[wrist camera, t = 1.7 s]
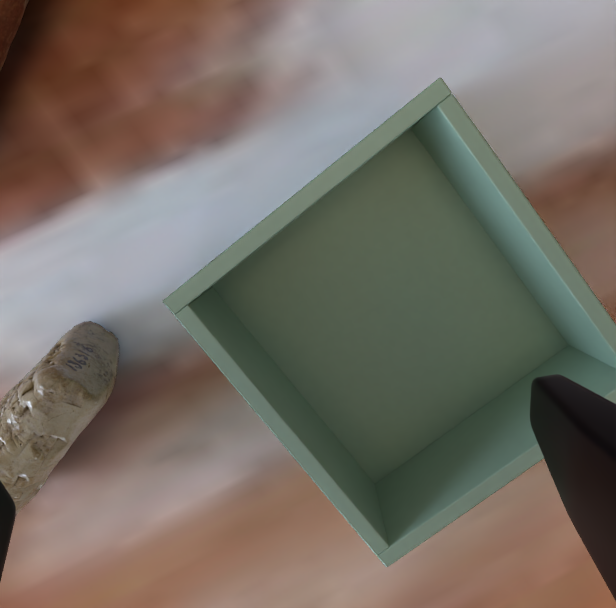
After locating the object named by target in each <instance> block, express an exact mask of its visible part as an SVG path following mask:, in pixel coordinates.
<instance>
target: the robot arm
mask: <svg viewBox="0 0 616 608" xmlns="http://www.w3.org/2000/svg"><path fill="white" fill-rule="evenodd" d="M530 423H531V427H532V430H533V432H534V435H535V437H536V440H537V442H538V444H539V447H540V449H541V452H542V454H543V456H544V459H545V461H546V464H547V466H548V468H549V471H550V473H551V475H552V478H553V480H554V483H555V485H556V487H557V490H558V492H559V495H560V497H561V499H562V502H563V504H564V506H565V508H566V511H567V513H568V515H569V517H570V519H571V521H572V523H573V525H574V527H575V529H576V530H577V532H578V534H579V536H580V538H581V539H582V541H583V543H584V545H585V547H586V548H587V550H588V552H589V554H590V556H591V557H592V559H593V561H594V563H595V565H596V566H597V568H598V570H599V572H600V574H601V575H602V577H603V579H604V581H605V582H606V584H607V586H608V588H609V590H610V591H611V593H612V595H613V597H614V599H615V600H616V404H615V403H613V402H611V401H609V400H608V399H606V398H604V397H602V396H600V395H598V394H596V393H595V392H593V391H591V390H589V389H587V388H585V387H583V386H581V385H580V384H578V383H576V382H574V381H572V380H570V379H568V378H567V377H565V376H562V375H560V374H553V375H547V376H541V377H536V378H535V379H534V380H533V381H532V384H531V399H530ZM15 516H16V507H15V503H14V501H13V499H12V497H11V496H10V494H9V493H8V491H7V490H6V488H5V487H4V485H3V484H2V482H1V480H0V581H1V577H2V572H3V568H4V564H5V560H6V555H7V551H8V547H9V543H10V538H11V534H12V530H13V526H14V521H15Z"/></svg>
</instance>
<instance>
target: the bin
mask: <svg viewBox="0 0 616 608" xmlns="http://www.w3.org/2000/svg"><path fill="white" fill-rule="evenodd" d="M450 94H451V91H450V89H449V88H448V86H447V85H446V84H445V82H444V81H443V79H442V78H439V79H437V80H436V81H435V82H434V83H432V84H431V85H430V86H429V87H427V88H426V89H425V90H424V91H422V92H421V93H420V94H419V95H417V96H416V97H415V98H414V99H412V100H411V101H410V102H409V103H408V104H406V105H405V106H404V107H403V108H401V109H400V110H399V111H398V112H396V113H395V114H394V115H393V116H391V117H390V118H389V119H388V120H386V121H385V122H384V123H383V124H381V125H380V126H379V127H378V128H377V129H375V130H374V131H373V132H372V133H370V134H369V135H368V136H367V137H365V138H364V139H363V140H362V141H360V142H359V143H358V144H357V145H355V146H354V147H353V148H352V149H350V150H349V151H348V152H347V153H345V154H344V155H343V156H342V157H341V158H339V159H338V160H337V161H336V162H334V163H333V164H332V165H331V166H329V167H328V168H327V169H326V170H324V171H323V172H322V173H321V174H319V175H318V176H317V177H316V178H314V179H313V180H312V181H311V182H310V183H308V184H307V185H306V186H305V187H303V188H302V189H301V190H300V191H298V192H297V193H296V194H295V195H293V196H292V197H291V198H290V199H288V200H287V201H286V202H285V203H283V204H282V205H281V206H280V207H278V208H277V209H276V210H275V211H274V212H272V213H271V214H270V215H269V216H267V217H266V218H265V219H264V220H262V221H261V222H260V223H259V224H257V225H256V226H255V227H254V228H252V229H251V230H250V231H249V232H247V233H246V234H245V235H244V236H243V237H241V238H240V239H239V240H238V241H236V242H235V243H234V244H233V245H231V246H230V247H229V248H228V249H226V250H225V251H224V252H223V253H221V254H220V255H219V256H218V257H216V258H215V259H214V260H213V261H211V262H210V263H209V264H208V265H207V266H205V267H204V268H203V269H202V270H200V271H199V272H198V273H197V274H195V275H194V276H193V277H192V278H190V279H189V280H188V281H187V282H185V283H184V284H183V285H182V286H180V287H179V288H178V289H177V290H176V291H174V292H173V293H172V294H171V295H169V296H168V297H167V298H166V299H164V300H163V303H164V304H165V305H166V306H167V308H168V309H169V310H170V311H171V312H172V314H173V315H175V317H176V318H177V320H178V321H179V322H180V323H181V324H182V325H183V327H184V328H185V329H186V330H187V331H188V333H189V334H190V335H191V336H192V337H193V339H194V340H195V341H196V342H197V343H198V344H199V346H200V347H201V348H202V349H203V350H204V352H205V353H206V354H207V355H208V356H209V358H210V359H211V360H212V361H213V362H214V363H215V365H216V366H217V367H218V368H219V369H220V371H221V372H222V373H223V374H224V375H225V377H226V378H227V379H228V380H229V381H230V382H231V384H232V385H233V386H234V387H235V388H236V390H237V391H238V392H239V393H240V394H241V396H242V397H243V398H244V399H245V400H246V401H247V403H248V404H249V405H250V406H251V407H252V409H253V410H254V411H255V412H256V413H257V415H258V416H259V417H260V418H261V419H262V420H263V422H264V423H265V424H266V425H267V426H268V428H269V429H270V430H271V431H272V432H273V434H274V435H275V436H276V437H277V438H278V439H279V441H280V442H281V443H282V444H283V445H284V447H285V448H286V449H287V450H288V451H289V453H290V454H291V455H292V456H293V457H294V458H295V460H296V461H297V462H298V463H299V464H300V466H301V467H302V468H303V469H304V470H305V471H306V473H307V474H308V475H309V476H310V477H311V479H312V480H313V481H314V482H315V483H316V485H317V486H318V487H319V488H320V489H321V490H322V492H323V493H324V494H325V495H326V496H327V498H328V499H329V500H330V501H331V502H332V504H333V505H334V506H335V507H336V508H337V509H338V511H339V512H340V513H341V514H342V515H343V517H344V518H345V519H346V520H347V521H348V523H349V524H350V525H351V526H352V527H353V528H354V530H355V531H356V532H357V533H358V534H359V536H360V537H361V538H362V539H363V540H364V542H365V543H366V544H367V545H368V546H369V547H370V549H371V550H372V551H373V552H374V553H375V555H377V557H378V558H379V559H380V560H381V562H382V563H383V564H384V565H385V566H386V567H388V566H390V565H391V564H392V563H394V562H395V561H397V560H398V559H400V558H401V557H403V556H404V555H405V554H407V553H408V552H410V551H411V550H413V549H414V548H415V547H417V546H418V545H420V544H421V543H423V542H424V541H426V540H427V539H428V538H430V537H431V536H433V535H434V534H436V533H437V532H438V531H440V530H441V529H443V528H444V527H446V526H447V525H449V524H450V523H451V522H453V521H454V520H456V519H457V518H459V517H460V516H461V515H463V514H464V513H466V512H467V511H469V510H470V509H472V508H473V507H474V506H476V505H477V504H479V503H480V502H482V501H483V500H484V499H486V498H487V497H489V496H490V495H492V494H493V493H495V492H496V491H497V490H499V489H500V488H502V487H503V486H505V485H506V484H507V483H509V482H510V481H512V480H513V479H515V478H516V477H518V476H519V475H520V474H522V473H523V472H525V471H526V470H528V469H529V468H530V467H532V466H533V465H535V464H536V463H538V462H539V461H541V460H542V459H543V458H544V456H543V454H542V452H541V449H540V447H539V444H538V442H537V440H536V437H535V435H534V432H533V430H532V427H531V423H530V399H531V384H532V381H533V380H534V379H535V378H536V377H541V376H547V375H553V374H560V375H562V376H565V377H567V378H568V379H570V380H572V381H574V382H576V383H578V384H580V385H581V386H583V387H585V388H587V389H589V390H591V391H593V392H595V393H596V394H598V395H600V396H602V397H604V398H606V399H608V400H609V401H611V402H613V403H615V404H616V324H615V322H614V321H613V320H612V318H611V317H610V315H609V314H608V313H607V311H606V310H605V308H604V307H603V305H602V304H601V303H600V301H599V300H598V298H597V297H596V296H595V294H594V293H593V291H592V290H591V289H590V287H589V286H588V284H587V283H586V281H585V280H584V279H583V277H582V276H581V274H580V273H579V272H578V270H577V269H576V267H575V266H574V265H573V263H572V262H571V260H570V259H569V258H568V256H567V255H566V253H565V252H564V250H563V249H562V248H561V246H560V245H559V243H558V242H557V241H556V239H555V238H554V236H553V235H552V234H551V232H550V231H549V229H548V228H547V226H546V225H545V224H544V222H543V221H542V219H541V218H540V217H539V215H538V214H537V212H536V211H535V210H534V208H533V207H532V205H531V204H530V202H529V201H528V200H527V198H526V197H525V195H524V194H523V193H522V191H521V190H520V188H519V187H518V186H517V184H516V183H515V181H514V180H513V178H512V177H511V176H510V174H509V173H508V171H507V170H506V169H505V167H504V166H503V164H502V163H501V162H500V160H499V159H498V157H497V156H496V154H495V153H494V152H493V150H492V149H491V147H490V146H489V145H488V143H487V142H486V140H485V139H484V138H483V136H482V135H481V133H480V132H479V130H478V129H477V128H476V126H475V125H474V123H473V122H472V121H471V119H470V118H469V116H468V115H467V114H466V112H465V111H464V109H463V108H462V107H461V105H460V104H459V102H458V101H457V99H456V98H455V97H454V95H453V94H451V95H450Z"/></svg>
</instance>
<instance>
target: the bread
mask: <svg viewBox="0 0 616 608" xmlns="http://www.w3.org/2000/svg"><path fill="white" fill-rule="evenodd" d="M28 1H29V0H0V71H1V69H2V66H3V64H4V62H5V59H6V57H7V54H8V51H9V48H10V45H11V43H12V41H13V39H14V37H15V35H16V32H17V30H18V28H19V25H20V22H21V19H22V17H23V14H24V11H25V8H26V6H27V4H28Z"/></svg>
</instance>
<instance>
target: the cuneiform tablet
mask: <svg viewBox="0 0 616 608" xmlns="http://www.w3.org/2000/svg"><path fill="white" fill-rule="evenodd" d="M118 359H119V343H118V339H117V338H116V337H115V335H114V334H113V333H112V332H108V331H106V329H104V328H103V327H102V326H100V325H99V324H96V323H93V322H91V321H88V322H82V323H80V324H78V325H76V326H74V327H73V328H72V329H70V330H69V331H68V332H67V333H65V334H64V335H63V336H62V337H61V338H60V339H59V341H58V342H57V343H56V344H55V345H54V347H53V348H52V349H51V350H50V351H49V353H48V354H47V355H45V356H44V358H43V359H42V360H41V361H40V362H39V363H38V364H37V365H36V367H34V368H33V369H32V370H31V371H30V372H29V373H28V374H27V375H26V376H25V377H24V379H22V380H21V381H20V382H19V383H18V384H17V385H16V386H15V387H14V388H12V389H11V390H10V391H9V392H8V393H7V394H6V395H5V396H4V398H3V399H2V400H1V401H0V480H1V482H2V484H3V485H4V487H5V488H6V490H7V491H8V493H9V494H10V496H11V497H12V499H13V501H14V503H15V507H16V515H17V514H18V513H19V512H20V511H21V510H22V509H23V508H24V507H25V506H26V505H27V504H28V503H29V502H30V501H31V500H32V499H33V498H34V497H35V495H36V494H37V493H38V491H39V489H40V488H41V487H42V486H43V485H44V483H45V482H46V480H47V478H48V475H49V474H50V473H51V471H52V470H53V469H54V467H55V466H56V465H57V464H58V463H59V461H60V460H61V459H62V458H63V457H64V455H65V454H66V452H67V451H68V449H69V448H70V446H71V445H72V443H73V442H74V441H75V440H76V439H77V437H78V436H79V435H80V433H81V432H82V431H83V430H84V429H85V428H86V427H87V425H88V424H89V423H90V422H91V421H92V419H93V418H94V417H95V416H96V414H97V413H98V412H99V411H100V410H101V409H102V407H103V406H104V405H105V403H106V402H107V400H108V398H109V396H110V395H111V393H112V391H113V387H114V384H115V380H116V376H117V368H118Z"/></svg>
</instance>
